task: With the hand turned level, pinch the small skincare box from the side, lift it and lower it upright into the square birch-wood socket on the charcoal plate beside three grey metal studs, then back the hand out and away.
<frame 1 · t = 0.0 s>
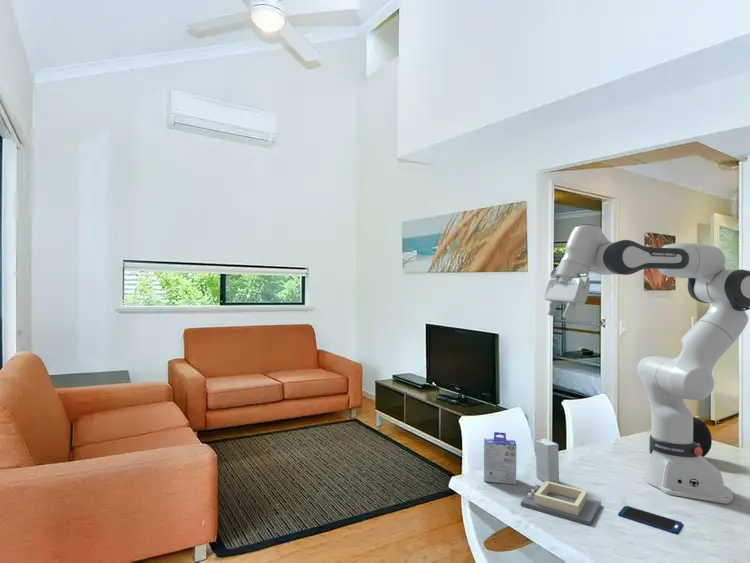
hand: (557, 316, 144), 52 cm above the table, tool tilted 20°, fingers open, 8 cm apart
ink cartridge box: (499, 480, 148), on the table
socket dock: (560, 505, 132), on the table
cell phone: (649, 521, 124), on the table
skincare box: (546, 480, 148), on the table
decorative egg: (690, 459, 169), on the table
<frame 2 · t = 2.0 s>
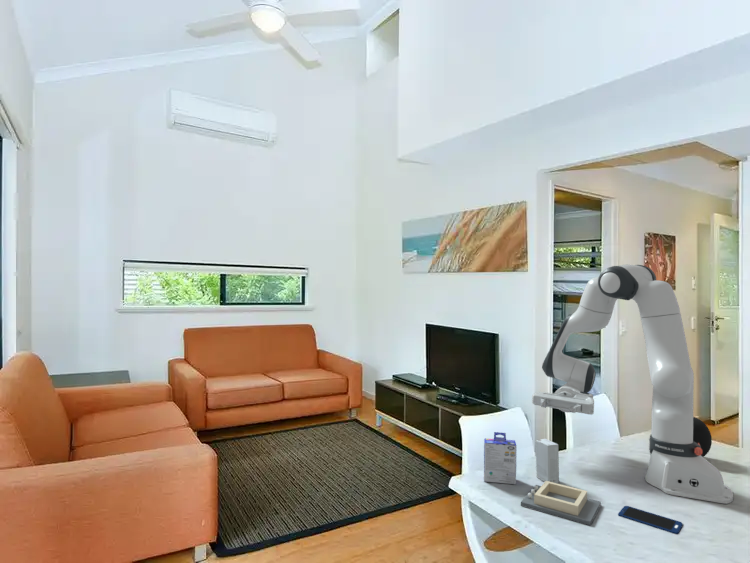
hand: (557, 407, 158), 20 cm above the table, tool horizontal, fingers open, 8 cm apart
nothing on the table moved.
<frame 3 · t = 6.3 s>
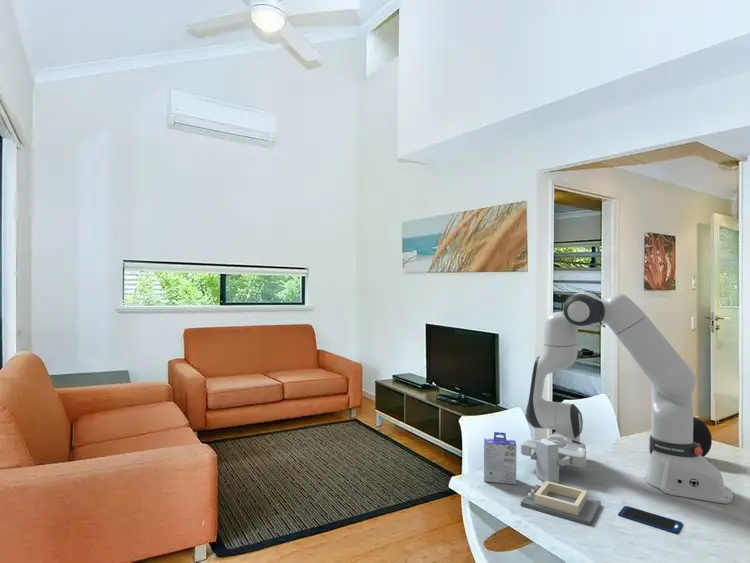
hand: (546, 460, 148), 7 cm above the table, tool horizontal, fingers closed on skincare box, 7 cm apart
skincare box: (546, 480, 148), on the table, touching gripper
everything else where it was.
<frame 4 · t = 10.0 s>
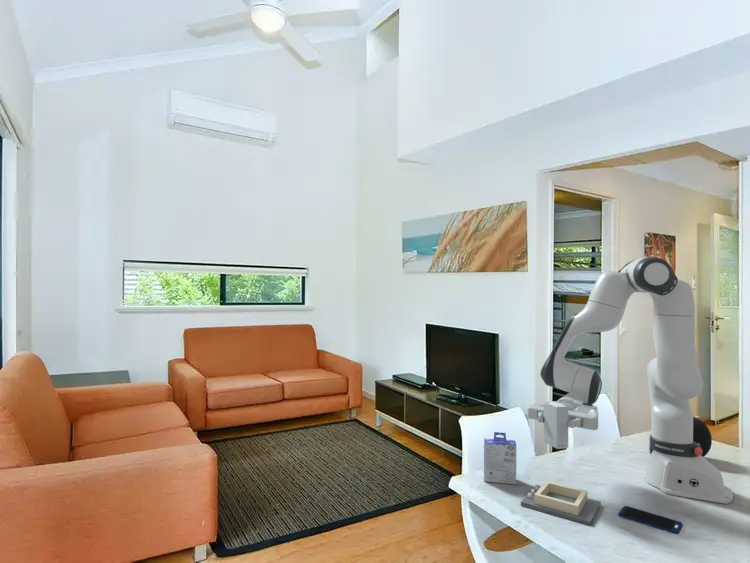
hand: (555, 422, 137), 22 cm above the table, tool horizontal, fingers closed on skincare box, 7 cm apart
skincare box: (555, 445, 137), point 15 cm above the table, touching gripper
everything else where it was.
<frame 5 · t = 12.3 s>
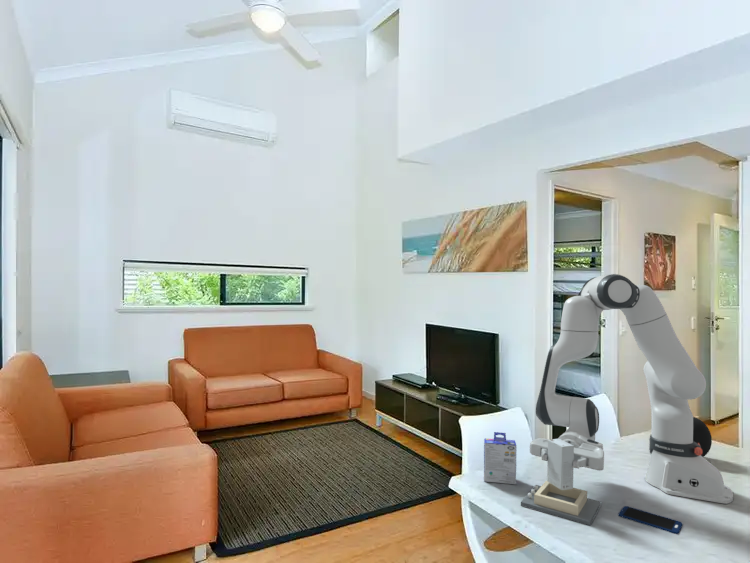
hand: (559, 461, 131), 12 cm above the table, tool horizontal, fingers closed on skincare box, 7 cm apart
skincare box: (558, 485, 132), point 5 cm above the table, touching gripper
everything else where it was.
when the fingers open (8 cm above the table, at t = 13.7 s): skincare box stays where it is, resting on socket dock.
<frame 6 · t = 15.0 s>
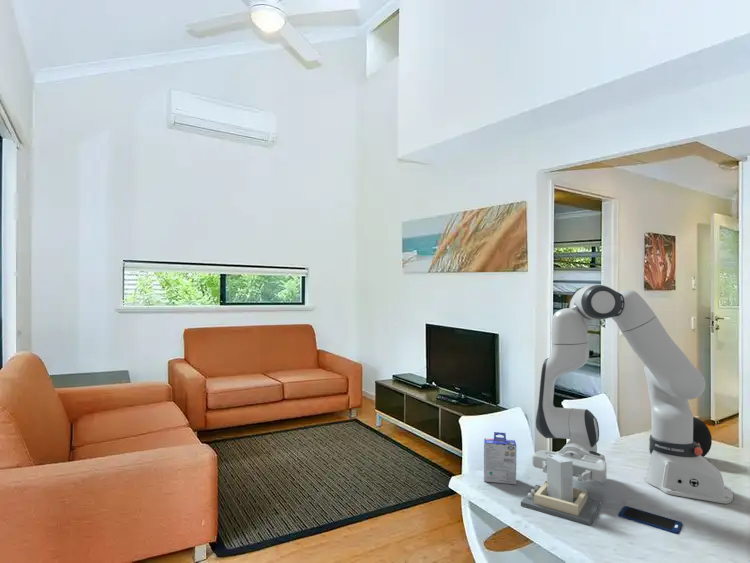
hand: (562, 474, 132), 8 cm above the table, tool horizontal, fingers open, 8 cm apart
skincare box: (559, 501, 132), point 1 cm above the table, touching socket dock
everything else where it was.
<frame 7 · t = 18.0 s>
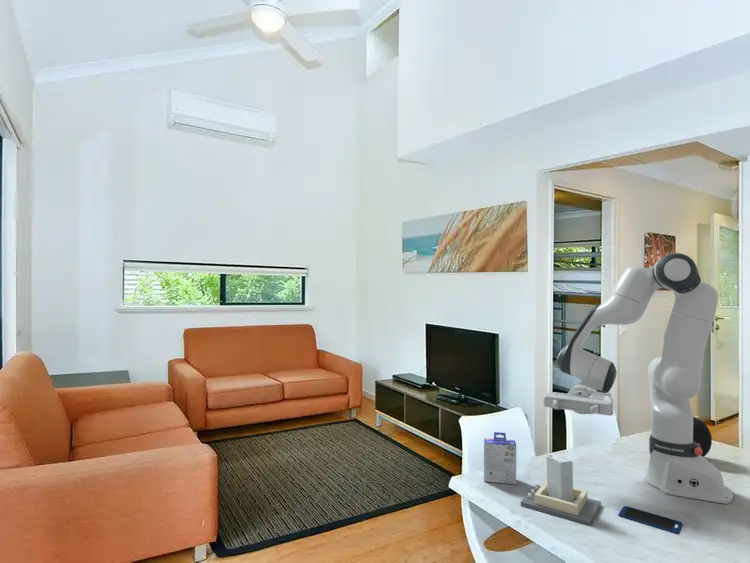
hand: (572, 409, 140), 25 cm above the table, tool horizontal, fingers open, 8 cm apart
nothing on the table moved.
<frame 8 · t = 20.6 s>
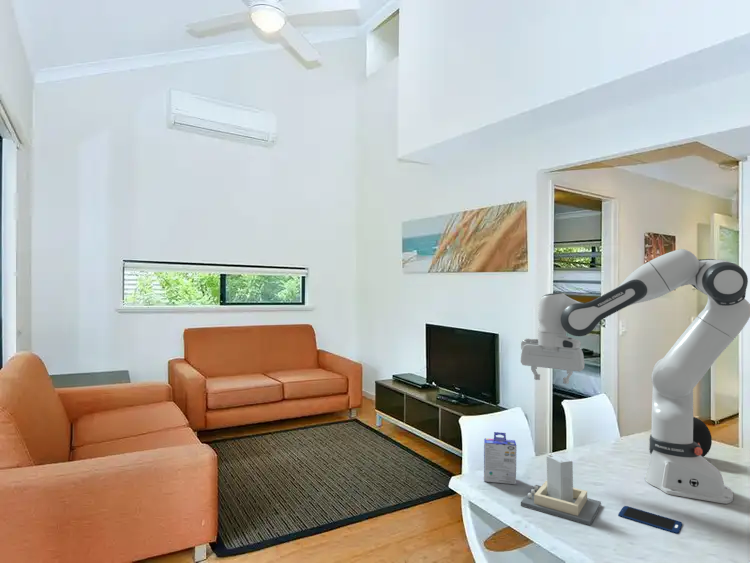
hand: (551, 381, 159), 29 cm above the table, tool pointing down, fingers open, 8 cm apart
nothing on the table moved.
at the end: skincare box 0.4 cm off-centre on the socket dock, point 0.8 cm above the socket dock's base; skincare box tilted 0°; the gripper is holding nothing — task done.
